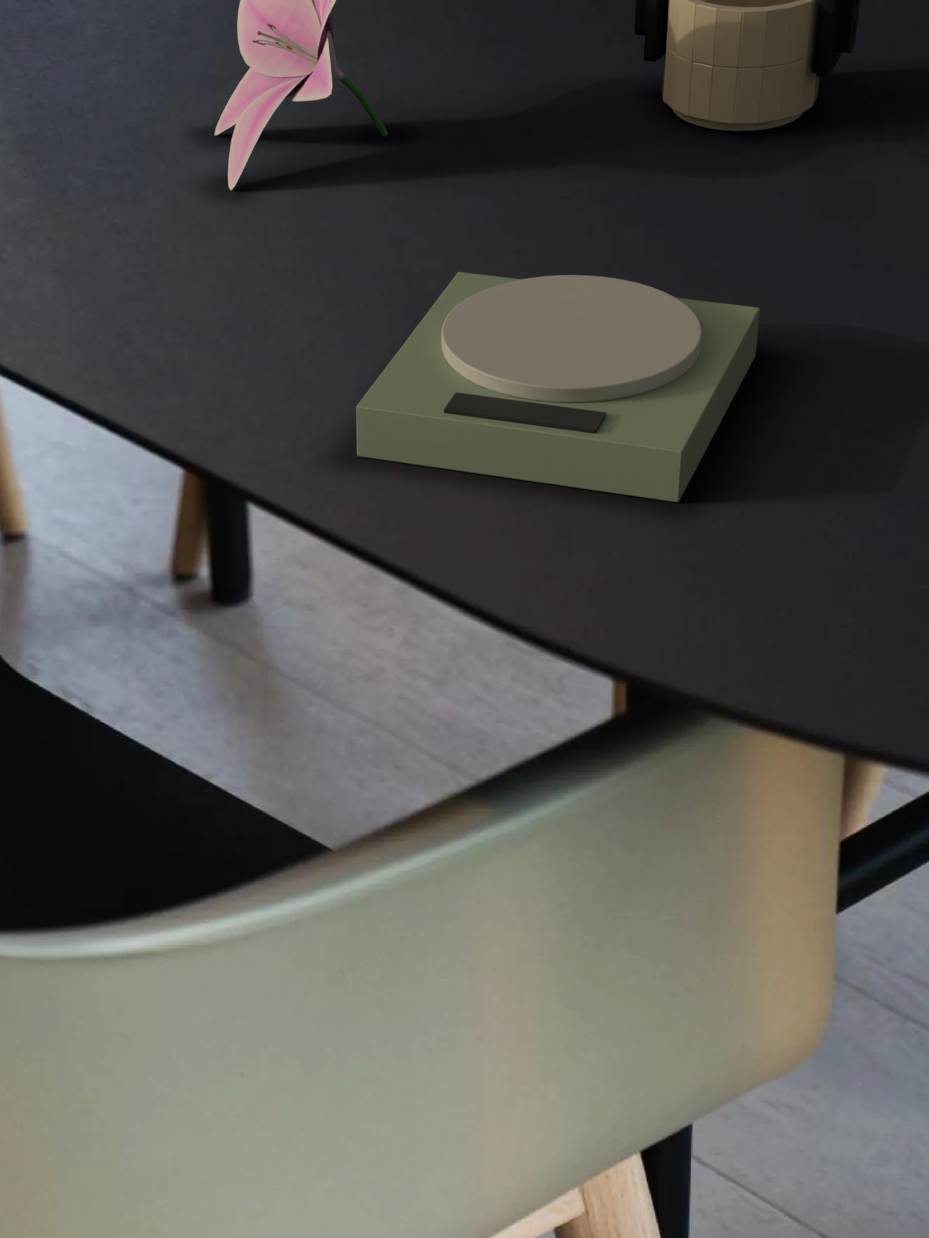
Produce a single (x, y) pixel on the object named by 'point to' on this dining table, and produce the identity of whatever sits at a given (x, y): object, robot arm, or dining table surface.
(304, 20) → the lily
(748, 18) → the tan faceted cup
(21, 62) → the dining table surface
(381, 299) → the dining table surface
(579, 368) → the scale
